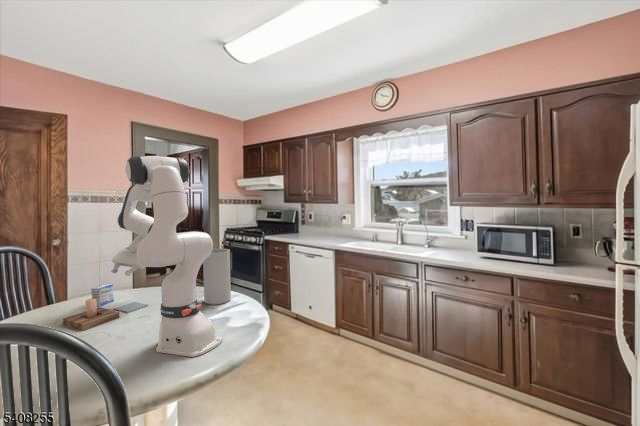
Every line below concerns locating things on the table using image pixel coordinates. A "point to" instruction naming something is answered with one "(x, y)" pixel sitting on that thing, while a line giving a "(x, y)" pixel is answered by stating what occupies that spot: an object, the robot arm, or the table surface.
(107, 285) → the medicine box
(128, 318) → the table surface
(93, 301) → the peg
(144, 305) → the mat
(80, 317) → the pocket block
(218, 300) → the cylinder vase
